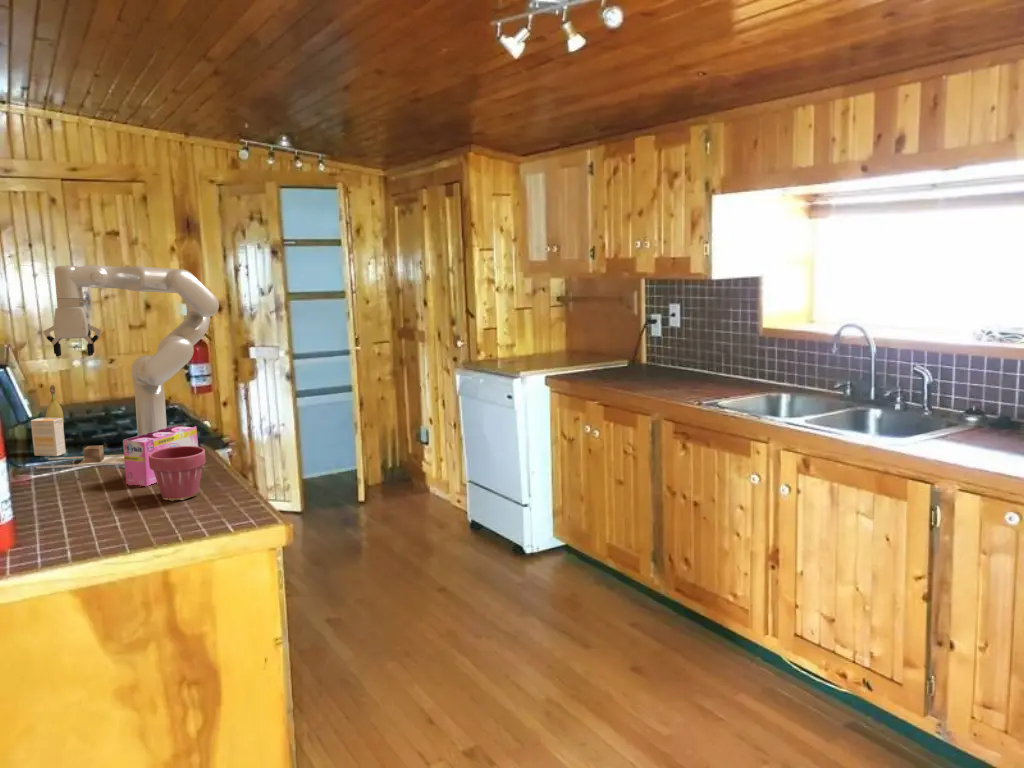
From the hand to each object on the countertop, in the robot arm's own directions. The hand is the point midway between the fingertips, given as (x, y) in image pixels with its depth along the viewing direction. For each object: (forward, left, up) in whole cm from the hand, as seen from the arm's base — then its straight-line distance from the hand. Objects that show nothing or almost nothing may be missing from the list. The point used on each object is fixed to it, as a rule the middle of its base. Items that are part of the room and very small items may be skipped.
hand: (74, 355), depth 261 cm
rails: (-8, +16, -33) cm, 38 cm away
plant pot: (-41, +58, -34) cm, 79 cm away
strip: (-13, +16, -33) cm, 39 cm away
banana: (+14, -16, -34) cm, 40 cm away
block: (-8, +16, -32) cm, 37 cm away
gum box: (-32, +35, -34) cm, 58 cm away
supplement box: (+9, +3, -34) cm, 35 cm away
